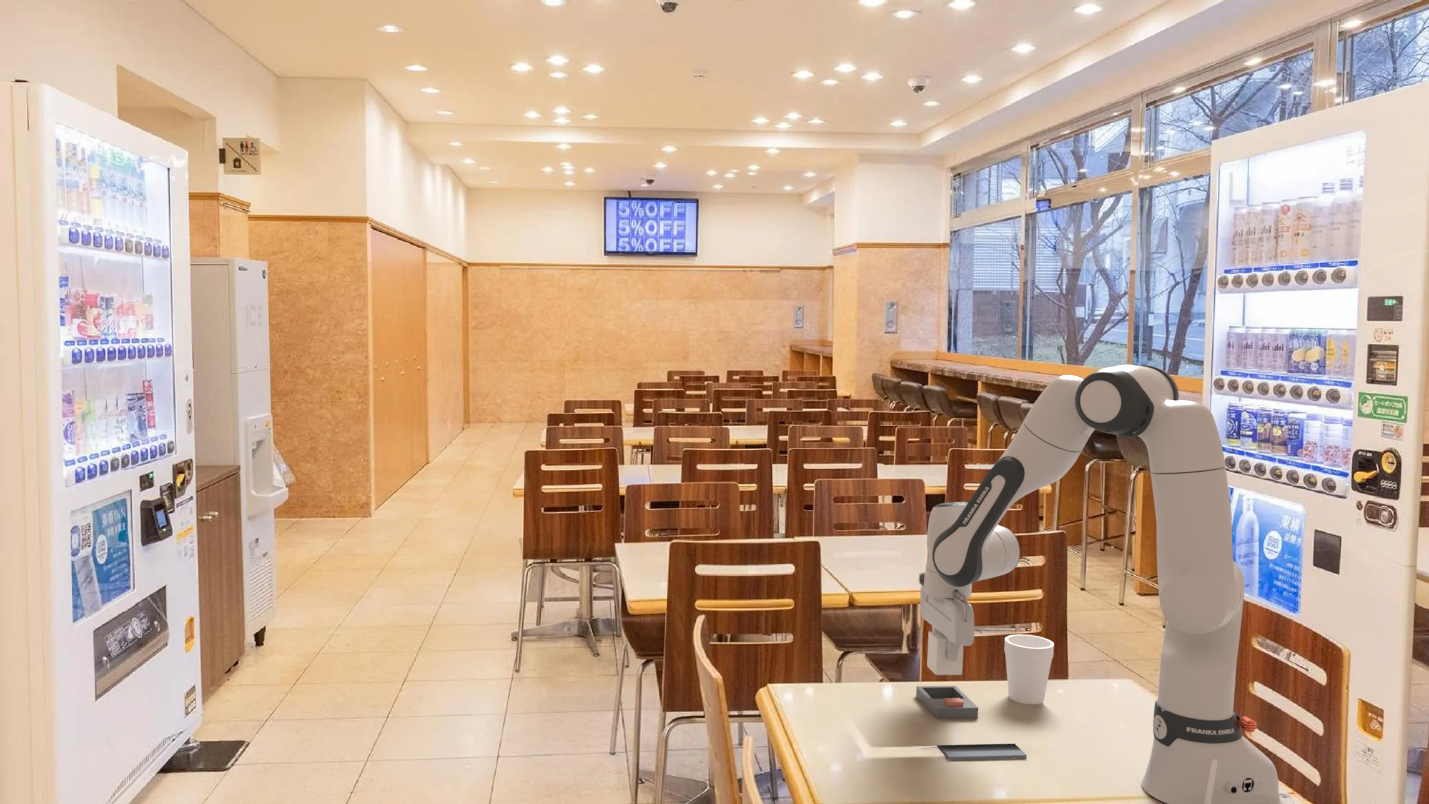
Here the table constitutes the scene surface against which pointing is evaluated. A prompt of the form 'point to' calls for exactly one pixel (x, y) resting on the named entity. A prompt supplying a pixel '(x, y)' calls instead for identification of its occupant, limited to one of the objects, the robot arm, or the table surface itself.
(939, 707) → the power strip
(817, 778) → the table surface
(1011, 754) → the rubber mat
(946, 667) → the block
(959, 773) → the table surface
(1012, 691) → the foam cup
